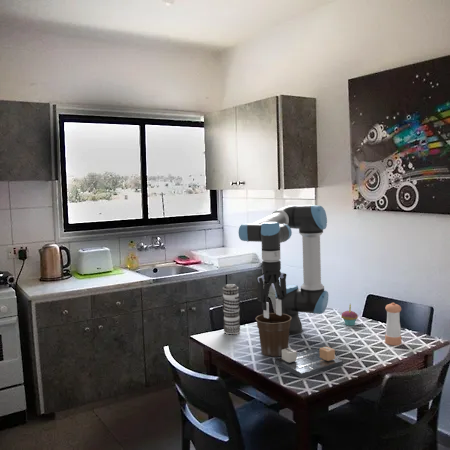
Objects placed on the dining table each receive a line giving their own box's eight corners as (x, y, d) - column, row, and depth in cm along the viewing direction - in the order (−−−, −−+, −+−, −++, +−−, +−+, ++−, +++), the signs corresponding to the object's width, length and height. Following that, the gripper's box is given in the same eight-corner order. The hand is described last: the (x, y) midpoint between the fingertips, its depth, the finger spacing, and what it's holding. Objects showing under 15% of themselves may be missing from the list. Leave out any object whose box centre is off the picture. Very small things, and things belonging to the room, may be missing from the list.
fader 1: (281, 358, 206) (281, 349, 205) (289, 356, 208) (289, 347, 207) (289, 362, 201) (288, 352, 201) (296, 360, 203) (296, 350, 203)
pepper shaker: (382, 343, 227) (382, 303, 225) (389, 339, 232) (389, 299, 230) (397, 346, 222) (397, 305, 220) (404, 342, 227) (404, 302, 225)
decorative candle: (237, 328, 256) (235, 282, 253) (243, 333, 247) (242, 285, 245) (220, 331, 253) (219, 284, 250) (227, 336, 244) (225, 287, 241)
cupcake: (359, 326, 252) (359, 304, 251) (343, 327, 252) (343, 304, 251) (355, 321, 261) (355, 299, 259) (339, 322, 261) (339, 300, 260)
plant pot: (249, 350, 224) (248, 316, 222) (278, 343, 232) (277, 310, 230) (269, 361, 210) (268, 325, 208) (299, 353, 217) (298, 318, 216)
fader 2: (319, 357, 206) (319, 347, 205) (326, 355, 208) (326, 345, 207) (327, 361, 202) (327, 351, 201) (335, 358, 204) (334, 349, 203)
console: (274, 363, 207) (274, 358, 207) (314, 352, 218) (313, 347, 218) (301, 378, 192) (301, 372, 191) (342, 365, 203) (342, 360, 203)
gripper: (257, 264, 188) (259, 322, 190) (295, 258, 197) (296, 314, 200) (246, 261, 194) (248, 318, 197) (283, 256, 204) (285, 310, 206)
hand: (272, 316), depth 198 cm, fingers open, 6 cm apart
